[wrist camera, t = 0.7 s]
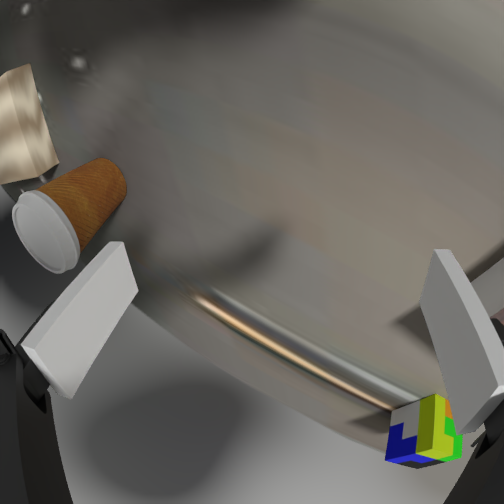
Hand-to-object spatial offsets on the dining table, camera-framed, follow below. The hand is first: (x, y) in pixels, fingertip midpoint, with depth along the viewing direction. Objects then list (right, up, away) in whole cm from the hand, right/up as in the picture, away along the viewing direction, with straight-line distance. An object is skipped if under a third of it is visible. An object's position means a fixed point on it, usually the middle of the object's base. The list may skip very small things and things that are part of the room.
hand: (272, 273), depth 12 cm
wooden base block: (-35, +19, +20) cm, 45 cm away
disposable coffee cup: (-18, +9, +22) cm, 30 cm away
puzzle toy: (+31, -28, +32) cm, 52 cm away
